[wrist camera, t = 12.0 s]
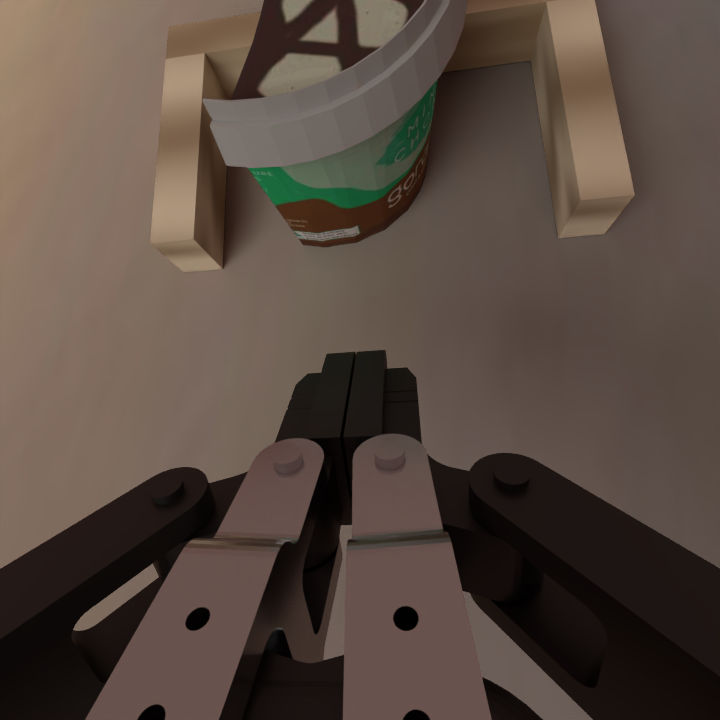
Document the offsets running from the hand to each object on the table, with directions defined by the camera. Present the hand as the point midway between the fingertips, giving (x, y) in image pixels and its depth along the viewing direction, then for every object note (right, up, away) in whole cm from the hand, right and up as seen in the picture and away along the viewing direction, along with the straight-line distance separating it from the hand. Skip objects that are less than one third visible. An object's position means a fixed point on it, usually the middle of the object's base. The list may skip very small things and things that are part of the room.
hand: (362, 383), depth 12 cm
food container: (+1, +10, +11) cm, 15 cm away
